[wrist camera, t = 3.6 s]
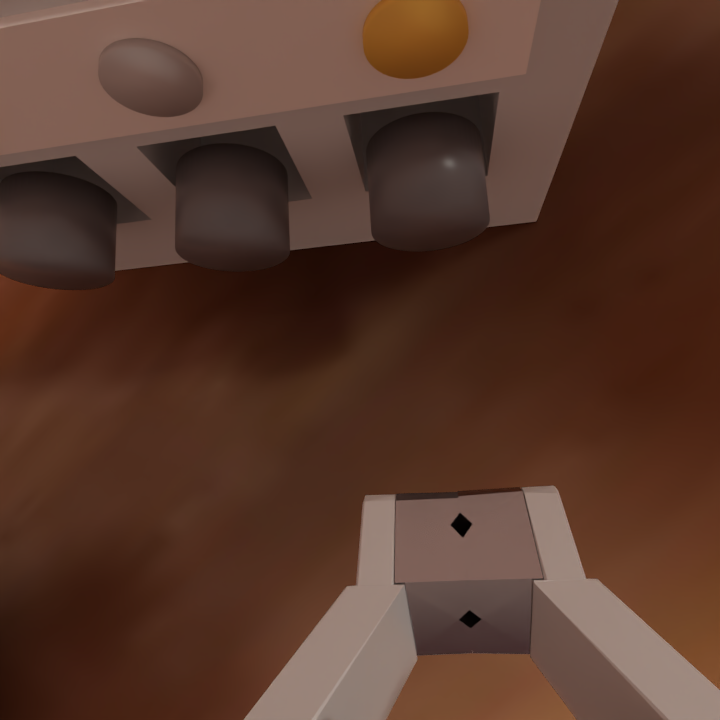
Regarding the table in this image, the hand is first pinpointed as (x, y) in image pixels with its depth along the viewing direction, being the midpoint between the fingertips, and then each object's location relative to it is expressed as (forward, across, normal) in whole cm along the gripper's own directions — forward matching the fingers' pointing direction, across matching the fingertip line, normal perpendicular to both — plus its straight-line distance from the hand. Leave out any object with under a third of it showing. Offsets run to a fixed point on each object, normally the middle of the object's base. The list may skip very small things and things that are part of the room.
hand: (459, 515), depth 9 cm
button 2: (+14, +7, 0) cm, 16 cm away
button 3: (+14, +14, 0) cm, 20 cm away
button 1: (+14, 0, 0) cm, 14 cm away
